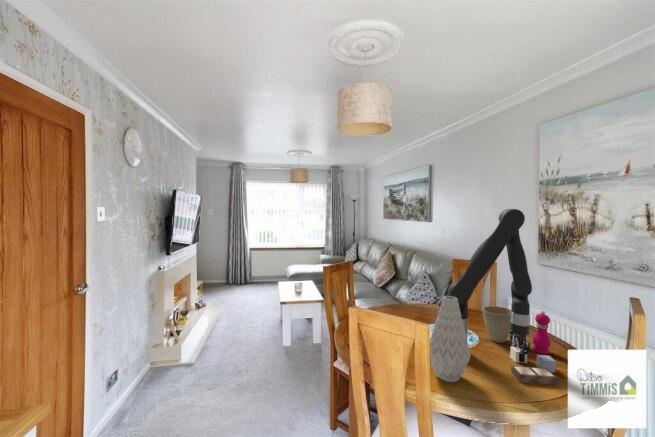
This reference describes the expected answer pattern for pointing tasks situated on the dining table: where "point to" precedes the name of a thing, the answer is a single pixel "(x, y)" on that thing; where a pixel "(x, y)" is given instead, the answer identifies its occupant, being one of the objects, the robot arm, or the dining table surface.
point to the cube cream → (516, 354)
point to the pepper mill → (542, 334)
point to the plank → (533, 375)
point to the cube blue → (546, 362)
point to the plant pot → (497, 322)
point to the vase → (449, 342)
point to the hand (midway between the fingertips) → (518, 358)
